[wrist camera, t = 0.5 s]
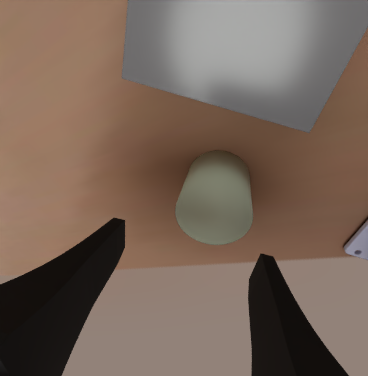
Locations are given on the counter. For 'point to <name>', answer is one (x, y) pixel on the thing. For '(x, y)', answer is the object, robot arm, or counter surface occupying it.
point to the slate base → (245, 52)
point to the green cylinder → (216, 199)
